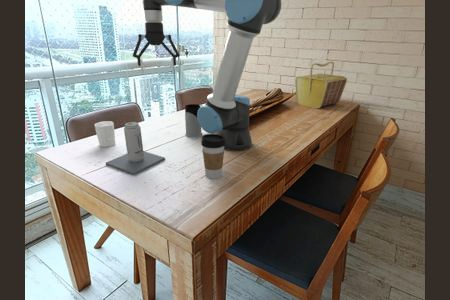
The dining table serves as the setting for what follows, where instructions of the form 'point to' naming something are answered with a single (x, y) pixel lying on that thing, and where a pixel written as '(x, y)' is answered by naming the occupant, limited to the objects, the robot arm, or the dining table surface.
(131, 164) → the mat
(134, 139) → the energy drink can
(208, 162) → the coffee cup
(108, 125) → the white cup
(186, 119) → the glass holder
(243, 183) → the dining table surface
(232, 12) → the robot arm
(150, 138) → the dining table surface
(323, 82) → the picnic basket
